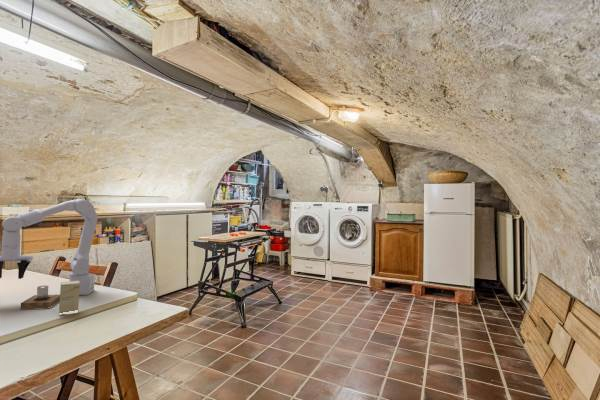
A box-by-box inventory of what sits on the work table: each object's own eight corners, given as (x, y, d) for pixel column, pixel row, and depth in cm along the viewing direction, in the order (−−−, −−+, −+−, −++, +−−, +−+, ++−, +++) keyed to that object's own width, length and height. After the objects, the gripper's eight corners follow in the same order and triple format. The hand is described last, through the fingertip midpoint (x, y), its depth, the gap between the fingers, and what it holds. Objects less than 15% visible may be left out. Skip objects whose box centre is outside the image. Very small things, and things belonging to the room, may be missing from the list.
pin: (46, 301, 136) (47, 285, 136) (48, 303, 134) (49, 286, 134) (35, 303, 133) (36, 286, 133) (37, 305, 131) (38, 288, 131)
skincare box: (58, 316, 123) (60, 284, 123) (58, 312, 126) (60, 282, 126) (78, 313, 127) (80, 282, 127) (78, 309, 130) (79, 280, 130)
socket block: (61, 300, 140) (61, 294, 140) (49, 308, 130) (50, 302, 130) (34, 300, 137) (34, 295, 137) (20, 309, 127) (20, 303, 127)
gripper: (36, 244, 138) (35, 275, 139) (-4, 244, 135) (-5, 276, 135) (27, 247, 132) (26, 280, 132) (-16, 246, 128) (-17, 280, 128)
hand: (9, 278), depth 133 cm, fingers open, 7 cm apart
